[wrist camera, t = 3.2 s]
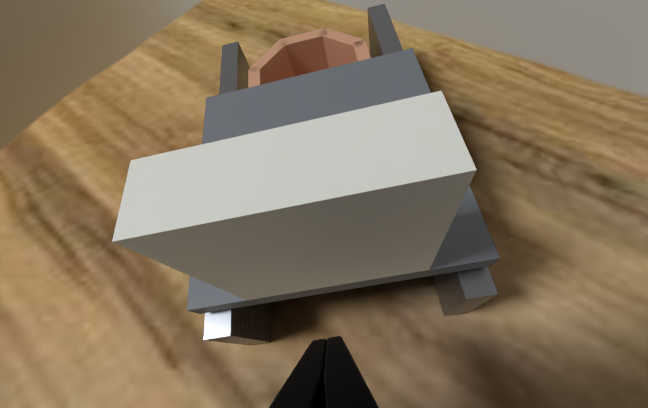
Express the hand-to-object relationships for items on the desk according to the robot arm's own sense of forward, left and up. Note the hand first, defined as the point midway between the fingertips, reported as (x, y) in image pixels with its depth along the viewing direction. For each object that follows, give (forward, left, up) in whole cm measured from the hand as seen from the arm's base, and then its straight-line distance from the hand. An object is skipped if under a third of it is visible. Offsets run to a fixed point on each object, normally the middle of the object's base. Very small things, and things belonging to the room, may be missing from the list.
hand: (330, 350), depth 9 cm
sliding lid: (+8, 0, -3) cm, 9 cm away
